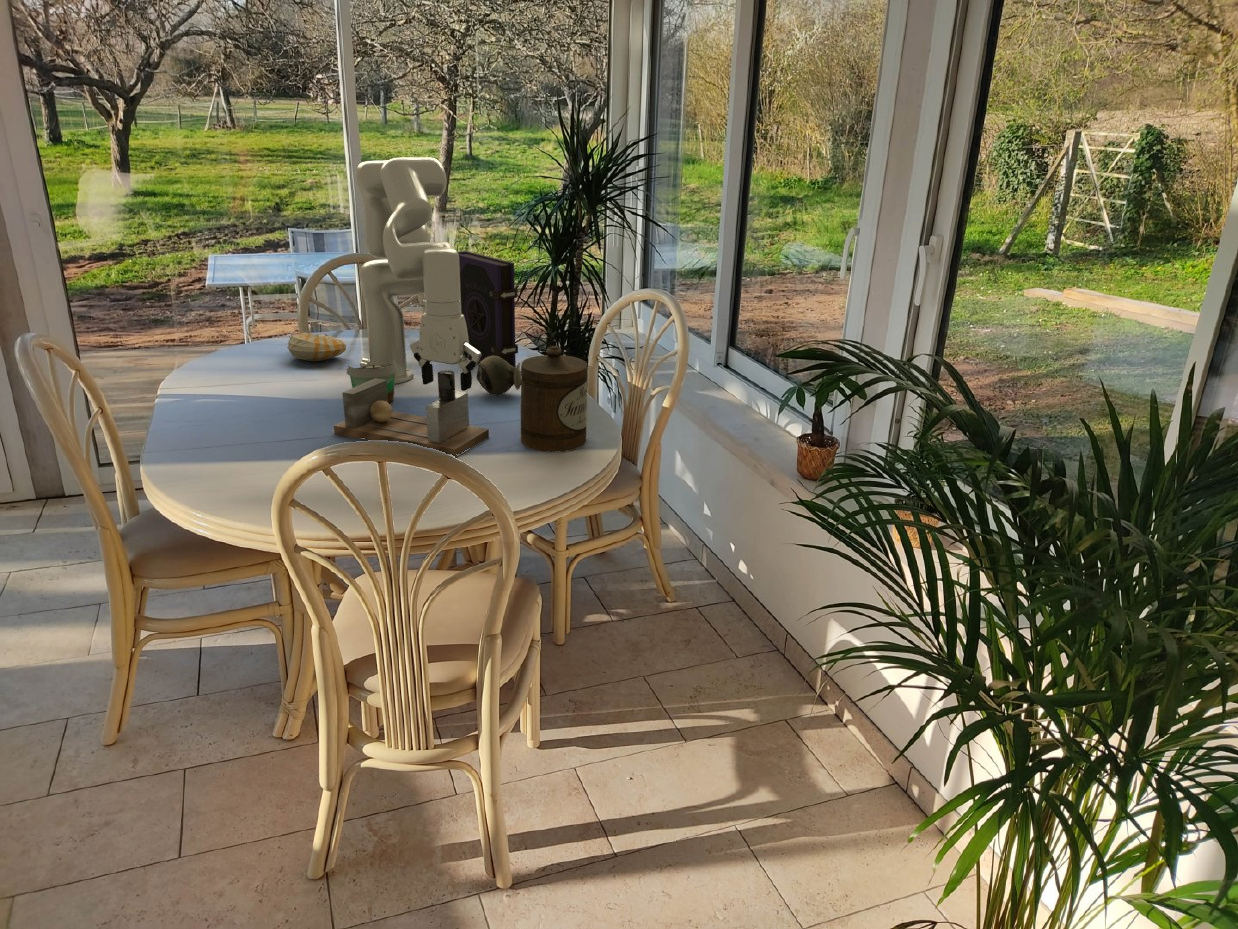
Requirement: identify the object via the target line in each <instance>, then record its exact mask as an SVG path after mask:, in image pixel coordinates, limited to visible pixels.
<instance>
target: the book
mask: <svg viewBox="0 0 1238 929" xmlns="http://www.w3.org/2000/svg"><path fill="white" fill-rule="evenodd" d="M457 252H458V254H459V266H460V291H461V314H462V315H464V318H465V322H466V326H467V332H468V340H469V345H471V346H472V347H473V348H475V349H476V350H478V351H479V352H481V354H482V356H481V358H480V360H479V363H480V362H481V361H482V360H484V359H485V358H486V357H489V356H498V357H500V358H502V359H503V360H505V361H507V362H508V363H509V364H510V365H511V366H513V367H515V368H516V367H517V365H516V364H517V363H516V359H517V358H516V354H519V344H516V315H515V314H516V311H515V310H516V308H515V307H516V306H515V300H516V299H517V298H518V289H517V288H516V287H515V263H514V262H511V261H507V260H505V259H499V258H495V257H491V256H488V255H484V254H480V253H476V252H472V251H468V250H466V251H465V250H463V251H457ZM468 359H469V361H470V362H471V360H472V356H471V355H470V354H469V358H468Z"/></svg>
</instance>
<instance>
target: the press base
mask: <svg viewBox="0 0 1238 929" xmlns="http://www.w3.org/2000/svg"><path fill="white" fill-rule="evenodd" d="M341 394H342V402H343V403H342V404H343V411H344V412H343V413H344V414H343V415H344V420H342V421H341V422H339V423H336V424H334V425H333V431H334V433H333V434H334V435H339V436H343V437H349V438H353V439H358V438H365V439H362V440H363V441H368V440H388V441H399V442H408V443H413V444H417V445H420V446H423V447H427V448H433V449H436V450H439V451H442V452H445V453H446V454H452V455H453V456H455V457H456V458H458V457H459V456H457V455H458V454H461V453H462V452H464V451H465V450H467V449H469V448H471V449H473V448H474V447H475V445H476V446H477V445H479V444H481V443H482V442H484V441H485V440H487V439H489V438H490V435H489V434H490V432H489V431H490V430H489V428H485V427H484V428H483V427H478V426H474V425H473V426H472V425H469V426H468V427H467V428H465V429H463V430H461V431H460V432H458V433H456V434H455V435H453V436H451V437H449V438H448V439H446V440H444V441H442V442H441V443H436V442H431V441H428V436H427V418H426V417H424V416H419V415H413V414H409V413H403V412H399V411H398V412H397V411H393V410H392V416H391V418H390V419H389V420H388V421H386V422H377V421H375V420H374V419H373V418H372V417H371V415H370V408H371V406H372V404H373V403H375V402H376V401H386V402H387V403H388V393H387V380H384V379H378V378H375V379H373V380H370V381H368V382H366V383H363V384H361V385H358V386H356V387H354V388H352V387H351V388H349V389H346V390H344V391H342V393H341ZM480 442H481V443H480ZM478 443H479V444H478ZM469 450H470V449H469ZM464 453H465V452H464ZM456 454H457V455H456ZM461 455H462V454H461Z"/></svg>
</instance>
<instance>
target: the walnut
mask: <svg viewBox="0 0 1238 929" xmlns="http://www.w3.org/2000/svg"><path fill="white" fill-rule="evenodd" d="M392 411H393V407H392V405H391V404H389V403H387V402H386V401H376V402H375V403H373V404H372V406H371V408H370V415H371V417H372V418H373V419H374V420H375V421H377V422H386V421H388V420H389V419H390V418H391V416H392Z"/></svg>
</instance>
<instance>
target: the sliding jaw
mask: <svg viewBox="0 0 1238 929" xmlns="http://www.w3.org/2000/svg"><path fill="white" fill-rule="evenodd" d="M455 378H456V376H455V371H453V370H449V369H446V370H440V371H437V385H438V386H437V387H438V388H437V389H438V399H437V400H435V401H433V402H431V403H429V404H426V406H425V415H426V417H425V418H427V436H428V441H431V442H436V443H441V442H442V441H444V440H446V439H448V438H449V437H451V436H453V435H455V434H456V433H458V432H460V431H461V430H463V429H465V428H467V427H468V426H470V419H469V418H470V416H469V411H470V410H469V392H466V391H462V390H461V391H460V390H456V379H455Z"/></svg>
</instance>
